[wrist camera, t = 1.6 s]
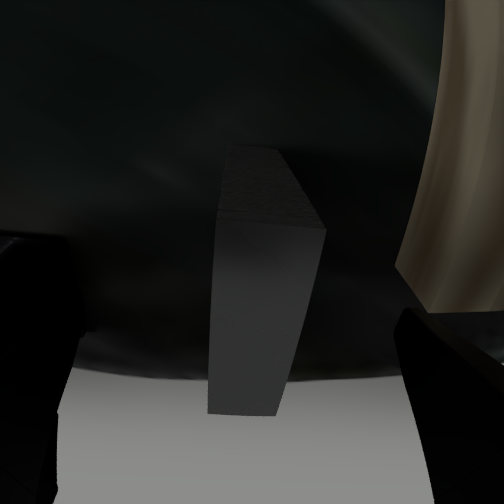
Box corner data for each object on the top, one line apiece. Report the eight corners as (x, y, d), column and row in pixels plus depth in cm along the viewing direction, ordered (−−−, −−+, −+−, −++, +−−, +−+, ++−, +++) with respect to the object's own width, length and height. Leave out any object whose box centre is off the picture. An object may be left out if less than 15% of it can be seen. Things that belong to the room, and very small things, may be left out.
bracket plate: (218, 270, 15) (207, 413, 8) (229, 144, 13) (215, 219, 6) (260, 273, 16) (275, 416, 9) (277, 149, 13) (326, 230, 6)
